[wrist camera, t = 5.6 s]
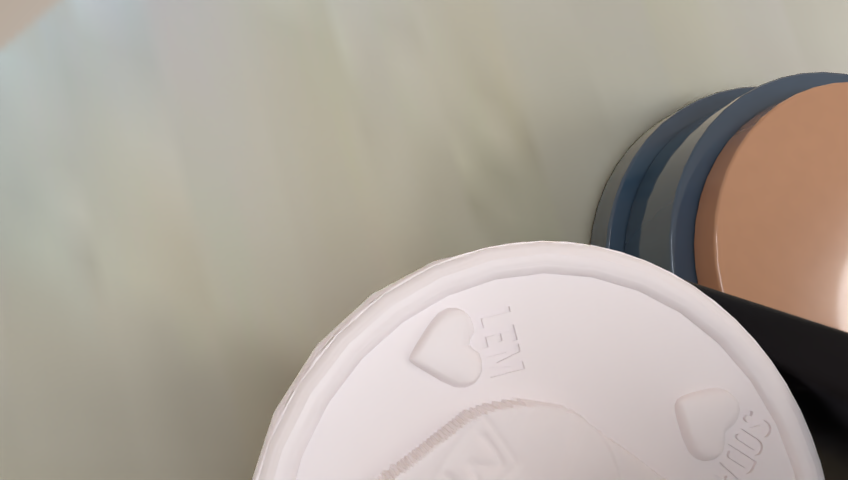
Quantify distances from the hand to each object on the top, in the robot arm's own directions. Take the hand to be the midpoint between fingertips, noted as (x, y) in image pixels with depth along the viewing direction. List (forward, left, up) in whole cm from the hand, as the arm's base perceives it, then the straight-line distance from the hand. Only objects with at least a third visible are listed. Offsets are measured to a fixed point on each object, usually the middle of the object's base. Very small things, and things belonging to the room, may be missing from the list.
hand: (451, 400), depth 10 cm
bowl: (-8, -9, -9) cm, 15 cm away
